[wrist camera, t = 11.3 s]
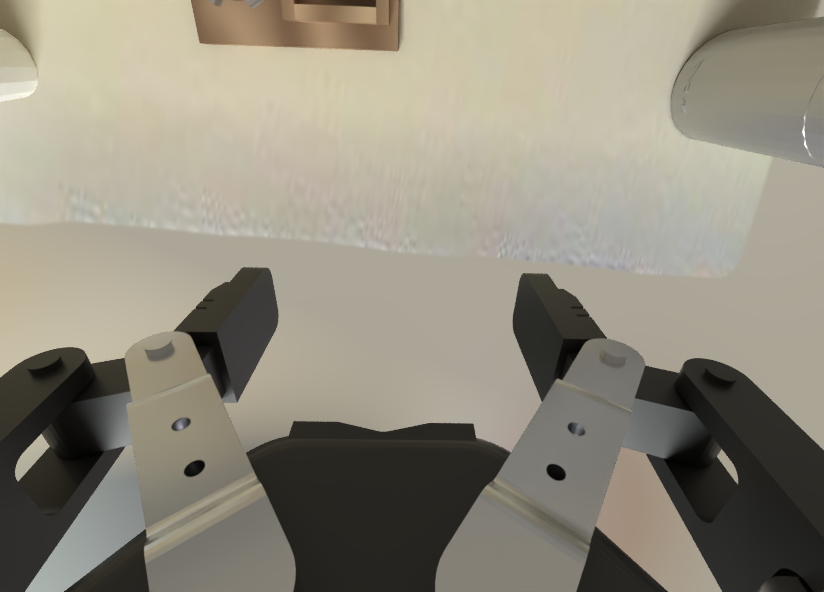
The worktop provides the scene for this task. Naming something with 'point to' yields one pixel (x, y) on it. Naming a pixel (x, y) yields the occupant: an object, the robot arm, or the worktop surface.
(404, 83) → the worktop surface
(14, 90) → the white cup
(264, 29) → the gear board
